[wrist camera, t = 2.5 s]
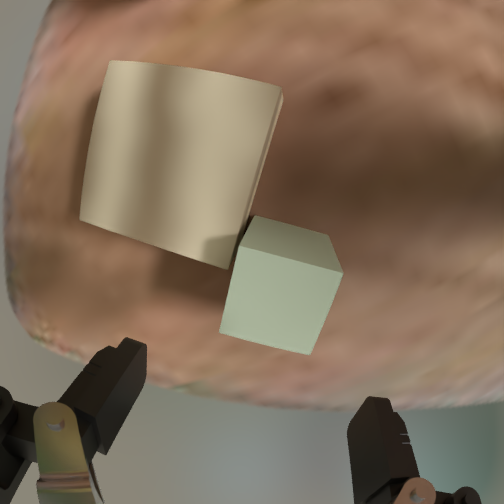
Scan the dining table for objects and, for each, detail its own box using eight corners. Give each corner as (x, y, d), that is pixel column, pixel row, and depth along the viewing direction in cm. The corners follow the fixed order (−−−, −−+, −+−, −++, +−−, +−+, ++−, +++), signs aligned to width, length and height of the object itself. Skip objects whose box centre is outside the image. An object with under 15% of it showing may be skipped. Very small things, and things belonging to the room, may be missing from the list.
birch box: (283, 100, 19) (281, 87, 14) (240, 244, 23) (227, 270, 18) (143, 73, 19) (110, 60, 15) (114, 205, 23) (79, 219, 18)
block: (328, 235, 22) (343, 273, 15) (306, 299, 23) (309, 355, 17) (254, 214, 22) (239, 245, 15) (238, 281, 24) (218, 332, 17)
